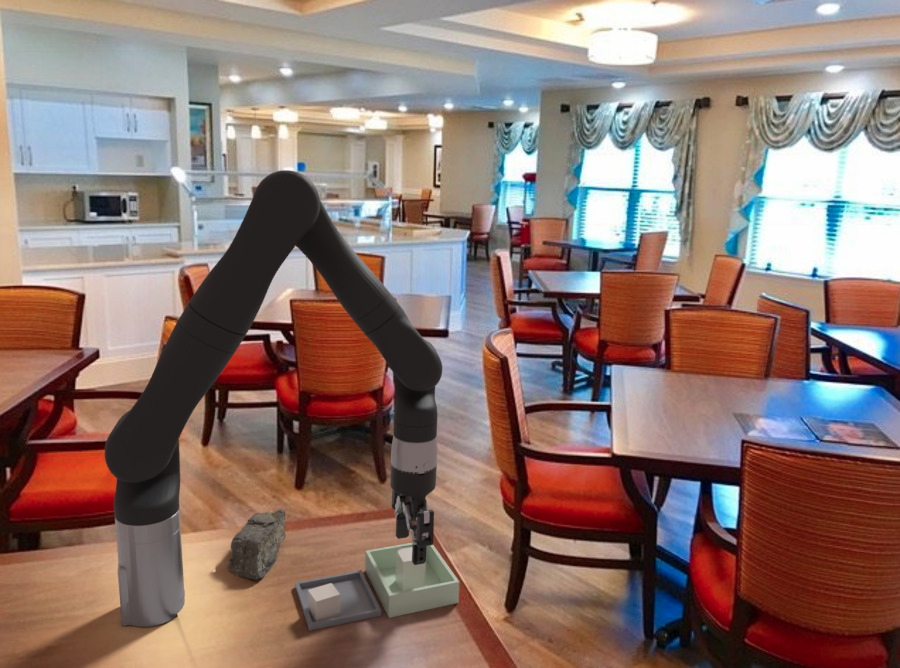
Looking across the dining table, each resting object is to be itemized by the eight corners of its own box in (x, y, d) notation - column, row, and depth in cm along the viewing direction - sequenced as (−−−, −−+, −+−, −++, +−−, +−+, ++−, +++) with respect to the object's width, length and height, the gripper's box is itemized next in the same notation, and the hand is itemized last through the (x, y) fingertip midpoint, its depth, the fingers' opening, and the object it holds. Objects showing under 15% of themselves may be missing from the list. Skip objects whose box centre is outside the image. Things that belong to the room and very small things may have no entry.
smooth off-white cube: (316, 624, 110) (316, 601, 109) (308, 612, 113) (307, 589, 112) (340, 616, 112) (340, 594, 111) (331, 604, 115) (331, 582, 114)
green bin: (388, 620, 113) (389, 596, 112) (365, 573, 125) (365, 550, 124) (458, 605, 117) (459, 581, 116) (428, 561, 130) (429, 539, 129)
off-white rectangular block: (402, 593, 119) (403, 562, 117) (395, 580, 122) (396, 549, 121) (424, 589, 120) (426, 558, 119) (417, 576, 124) (418, 545, 122)
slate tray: (309, 633, 109) (309, 625, 108) (295, 590, 120) (295, 582, 119) (381, 618, 113) (381, 610, 113) (361, 577, 124) (361, 570, 124)
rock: (233, 513, 135) (285, 499, 136) (244, 545, 136) (294, 531, 137) (216, 560, 118) (275, 544, 119) (228, 595, 120) (286, 578, 121)
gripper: (379, 446, 120) (376, 532, 124) (406, 482, 108) (402, 576, 111) (420, 442, 123) (417, 526, 127) (451, 476, 110) (446, 568, 114)
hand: (410, 549), depth 119 cm, fingers open, 8 cm apart
